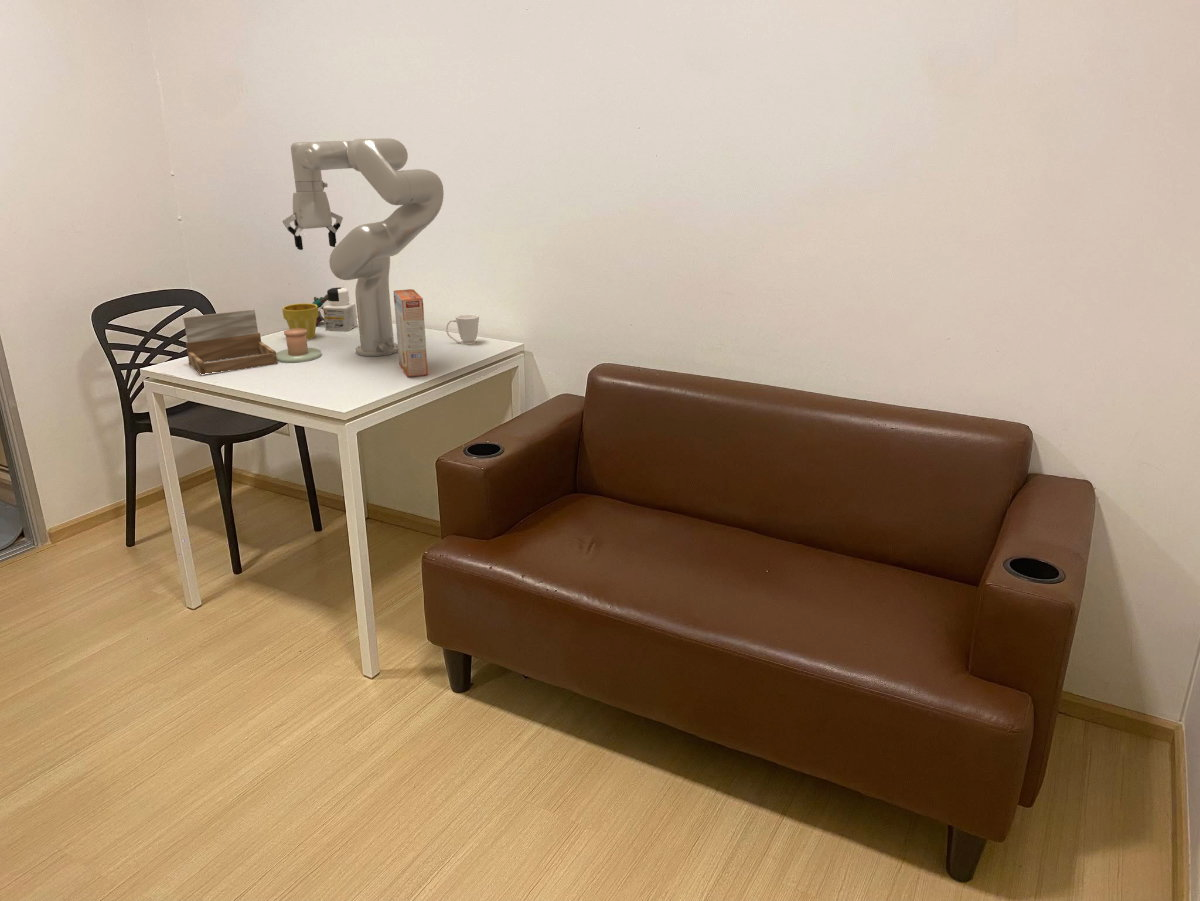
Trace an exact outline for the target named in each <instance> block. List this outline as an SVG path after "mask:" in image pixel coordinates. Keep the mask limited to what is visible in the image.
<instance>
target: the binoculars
mask: <svg viewBox="0 0 1200 901" xmlns="http://www.w3.org/2000/svg"><path fill="white" fill-rule="evenodd" d="M326 302H328V295H327V294H325V295H324V296H323V297H322V296H320V297H317V296H313V301H312V303H311V304H316V305H317V306H318V314H319V316H318V317H317V320H316V327H318V325H320V324H321V323H322V321H323V322H324V323H325V320H324V316H322V313H321V309H322V310H323V307H325V305H324V304H325V303H326Z"/></svg>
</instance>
